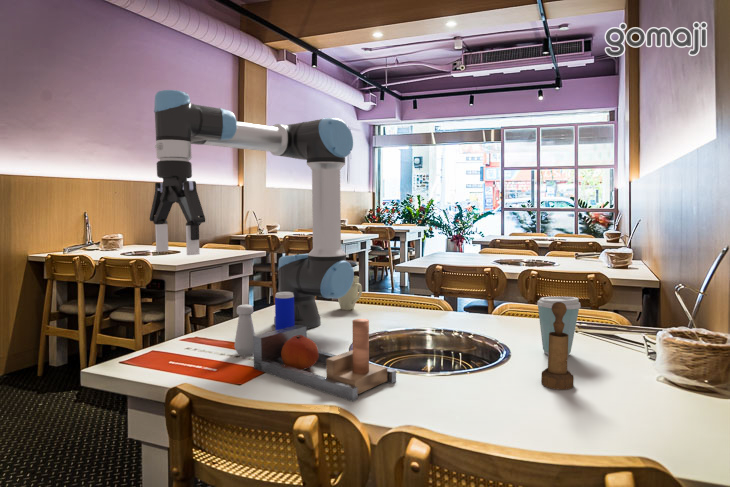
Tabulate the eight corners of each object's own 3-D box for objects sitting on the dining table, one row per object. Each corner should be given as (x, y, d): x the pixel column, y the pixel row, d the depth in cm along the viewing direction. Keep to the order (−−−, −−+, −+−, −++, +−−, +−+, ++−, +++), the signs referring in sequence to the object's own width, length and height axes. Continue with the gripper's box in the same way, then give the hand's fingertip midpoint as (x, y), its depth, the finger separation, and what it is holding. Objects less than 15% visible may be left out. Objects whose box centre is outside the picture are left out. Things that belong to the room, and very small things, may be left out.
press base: (298, 354, 132) (298, 324, 131) (396, 381, 112) (396, 346, 111) (253, 368, 121) (253, 335, 120) (352, 401, 101) (352, 361, 100)
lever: (359, 373, 116) (359, 313, 115) (387, 381, 111) (387, 318, 110) (326, 386, 108) (326, 321, 107) (355, 395, 103) (354, 327, 101)
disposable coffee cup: (528, 354, 132) (529, 297, 131) (546, 345, 140) (547, 291, 139) (569, 362, 125) (571, 302, 123) (585, 353, 132) (587, 296, 131)
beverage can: (298, 345, 141) (297, 292, 139) (288, 350, 136) (287, 295, 135) (282, 343, 143) (281, 291, 142) (272, 348, 138) (271, 293, 137)
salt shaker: (251, 357, 129) (250, 307, 128) (230, 356, 131) (229, 307, 130) (260, 351, 135) (259, 303, 134) (240, 350, 136) (239, 302, 135)
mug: (332, 311, 186) (332, 279, 185) (338, 306, 195) (338, 275, 194) (361, 312, 184) (361, 279, 183) (366, 306, 194) (366, 275, 193)
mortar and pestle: (570, 392, 105) (572, 306, 104) (538, 386, 108) (539, 303, 107) (575, 382, 111) (578, 301, 109) (545, 377, 114) (546, 298, 113)
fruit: (287, 377, 115) (286, 342, 114) (277, 365, 123) (277, 333, 123) (324, 371, 119) (323, 338, 118) (312, 361, 127) (312, 329, 126)
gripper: (132, 162, 121) (135, 251, 122) (188, 155, 105) (191, 257, 106) (162, 164, 127) (165, 249, 128) (219, 158, 111) (222, 254, 112)
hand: (177, 253), depth 117 cm, fingers open, 13 cm apart
